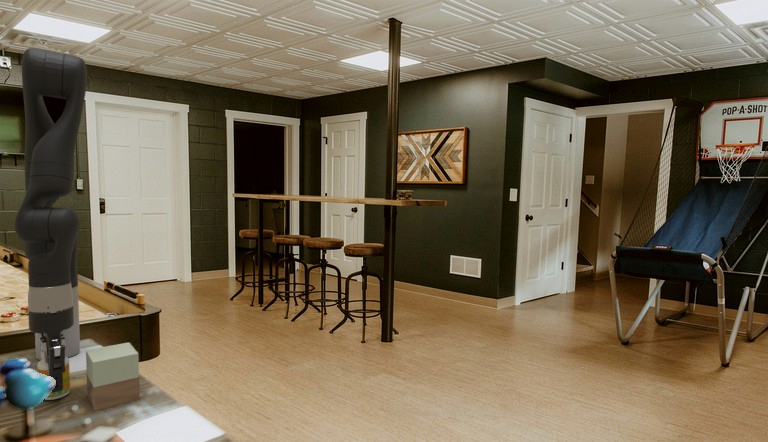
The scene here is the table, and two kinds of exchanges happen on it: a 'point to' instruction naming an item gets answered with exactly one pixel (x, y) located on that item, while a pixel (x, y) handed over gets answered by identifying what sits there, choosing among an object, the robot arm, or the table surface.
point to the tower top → (112, 364)
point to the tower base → (113, 393)
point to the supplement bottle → (43, 369)
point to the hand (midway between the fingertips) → (54, 385)
